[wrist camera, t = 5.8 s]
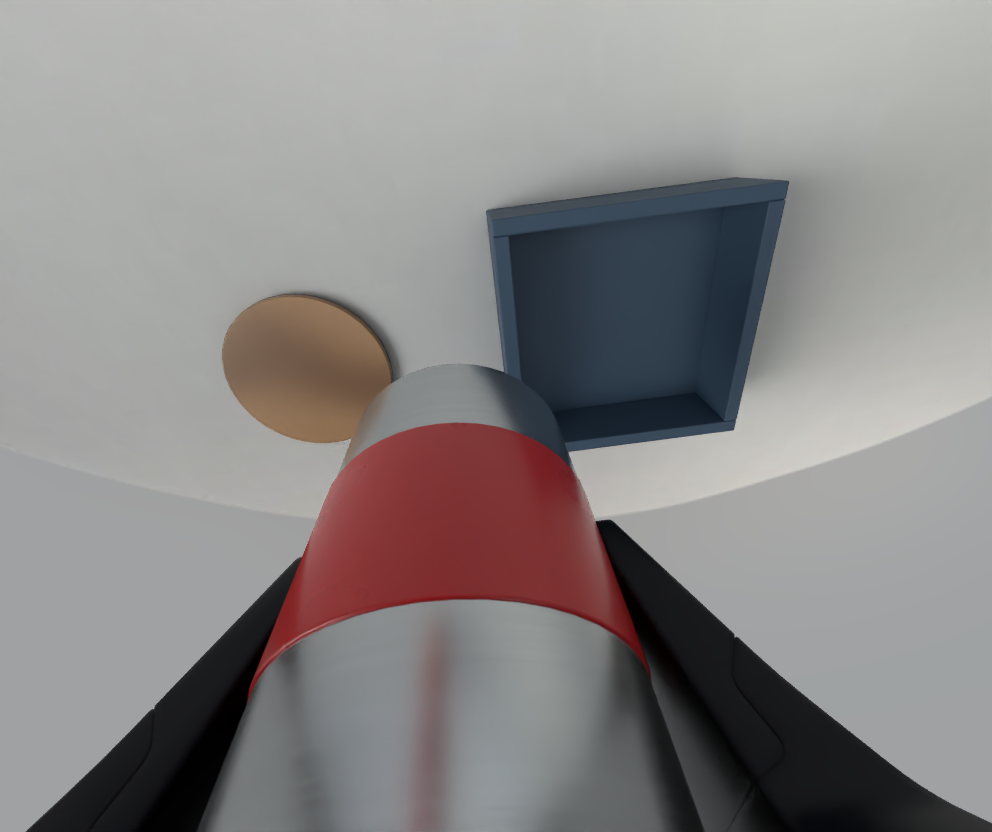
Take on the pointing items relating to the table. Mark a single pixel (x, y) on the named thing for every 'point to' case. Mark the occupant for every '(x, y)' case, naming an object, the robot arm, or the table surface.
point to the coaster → (304, 366)
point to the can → (453, 642)
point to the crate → (636, 305)
